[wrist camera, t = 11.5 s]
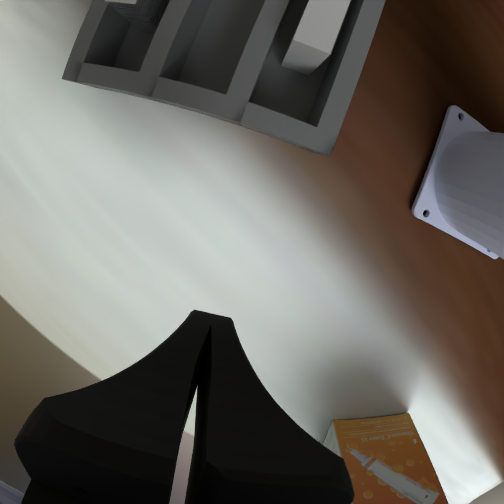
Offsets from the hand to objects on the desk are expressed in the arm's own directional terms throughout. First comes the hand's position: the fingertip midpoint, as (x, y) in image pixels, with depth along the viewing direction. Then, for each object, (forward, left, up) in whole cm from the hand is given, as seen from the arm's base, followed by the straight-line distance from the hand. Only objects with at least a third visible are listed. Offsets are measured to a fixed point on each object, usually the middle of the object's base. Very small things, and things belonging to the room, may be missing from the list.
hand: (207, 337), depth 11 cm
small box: (-18, +14, -10) cm, 25 cm away
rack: (+4, -17, -9) cm, 20 cm away
